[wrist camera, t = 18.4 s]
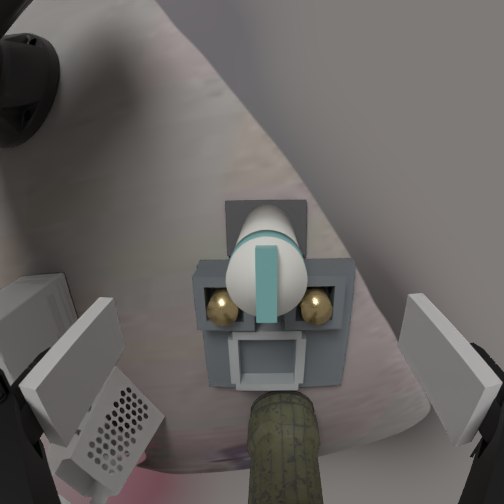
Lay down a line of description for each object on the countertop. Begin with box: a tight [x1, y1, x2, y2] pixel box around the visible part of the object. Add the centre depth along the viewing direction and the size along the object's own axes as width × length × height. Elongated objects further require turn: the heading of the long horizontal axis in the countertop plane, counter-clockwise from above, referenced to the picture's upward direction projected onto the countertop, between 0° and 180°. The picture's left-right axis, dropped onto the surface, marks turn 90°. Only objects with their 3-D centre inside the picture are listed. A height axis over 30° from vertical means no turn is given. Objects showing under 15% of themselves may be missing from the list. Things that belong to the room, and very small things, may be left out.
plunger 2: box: [299, 286, 333, 325], centre depth 30 cm, size 3×3×4 cm
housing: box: [192, 258, 356, 391], centre depth 34 cm, size 16×16×5 cm
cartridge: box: [226, 205, 308, 323], centre depth 25 cm, size 5×5×15 cm
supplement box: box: [0, 273, 78, 386], centre depth 30 cm, size 9×9×15 cm
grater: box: [46, 366, 165, 504], centre depth 32 cm, size 10×10×20 cm
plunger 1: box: [207, 287, 239, 326], centre depth 31 cm, size 3×3×4 cm
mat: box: [225, 200, 307, 256], centre depth 33 cm, size 6×8×1 cm
